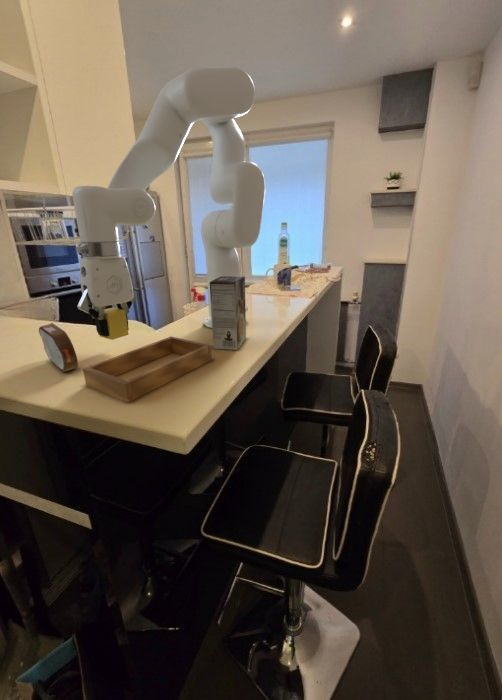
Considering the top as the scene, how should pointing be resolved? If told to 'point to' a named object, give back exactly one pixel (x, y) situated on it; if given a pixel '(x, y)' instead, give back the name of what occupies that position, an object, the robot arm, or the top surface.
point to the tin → (58, 347)
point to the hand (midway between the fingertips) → (113, 331)
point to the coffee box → (228, 312)
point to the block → (116, 323)
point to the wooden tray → (105, 371)
